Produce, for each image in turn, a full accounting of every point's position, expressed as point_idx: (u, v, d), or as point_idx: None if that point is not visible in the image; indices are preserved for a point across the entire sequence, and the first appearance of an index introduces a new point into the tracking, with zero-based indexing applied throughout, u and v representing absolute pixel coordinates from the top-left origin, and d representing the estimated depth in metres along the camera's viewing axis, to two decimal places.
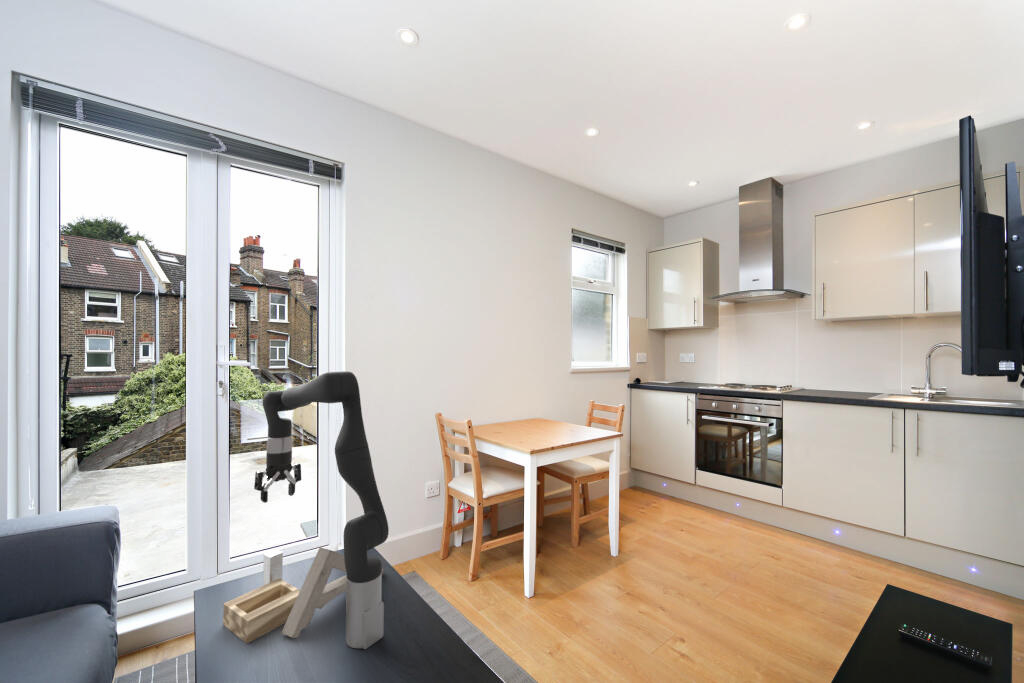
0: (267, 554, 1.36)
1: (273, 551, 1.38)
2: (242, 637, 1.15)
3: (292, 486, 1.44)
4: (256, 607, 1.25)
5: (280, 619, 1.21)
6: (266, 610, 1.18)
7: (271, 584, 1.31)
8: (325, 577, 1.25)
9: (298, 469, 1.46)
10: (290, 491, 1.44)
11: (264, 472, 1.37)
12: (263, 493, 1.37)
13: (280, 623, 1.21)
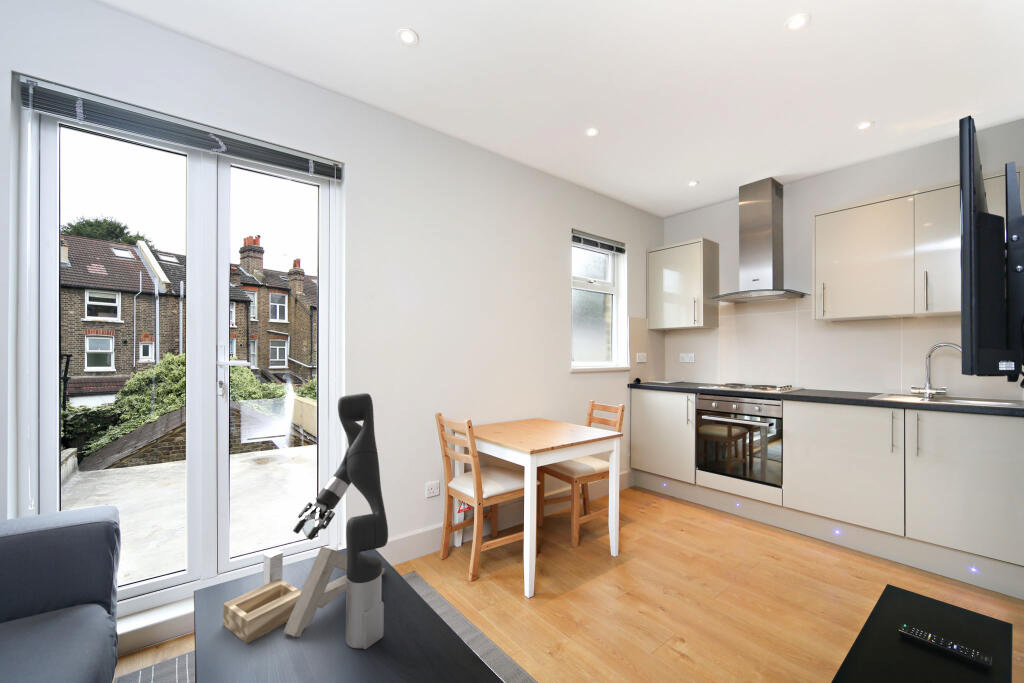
0: (267, 554, 1.36)
1: (273, 551, 1.38)
2: (242, 637, 1.15)
3: (313, 528, 1.44)
4: (256, 607, 1.25)
5: (280, 619, 1.21)
6: (266, 610, 1.18)
7: (271, 584, 1.31)
8: (327, 576, 1.25)
9: (326, 514, 1.46)
10: None
11: (312, 505, 1.53)
12: (298, 522, 1.49)
13: (280, 623, 1.21)
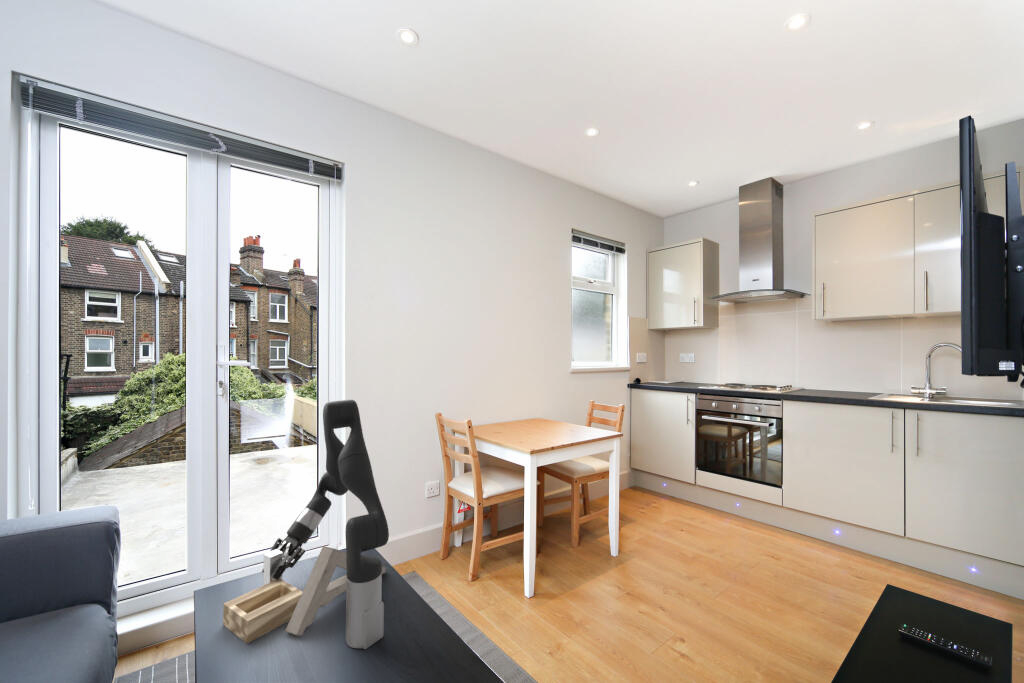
0: (267, 554, 1.36)
1: (273, 551, 1.38)
2: (242, 637, 1.15)
3: (279, 567, 1.35)
4: (256, 607, 1.25)
5: (280, 619, 1.21)
6: (266, 610, 1.18)
7: (271, 584, 1.31)
8: (329, 575, 1.26)
9: (295, 552, 1.36)
10: None
11: (282, 540, 1.44)
12: None
13: (280, 623, 1.21)
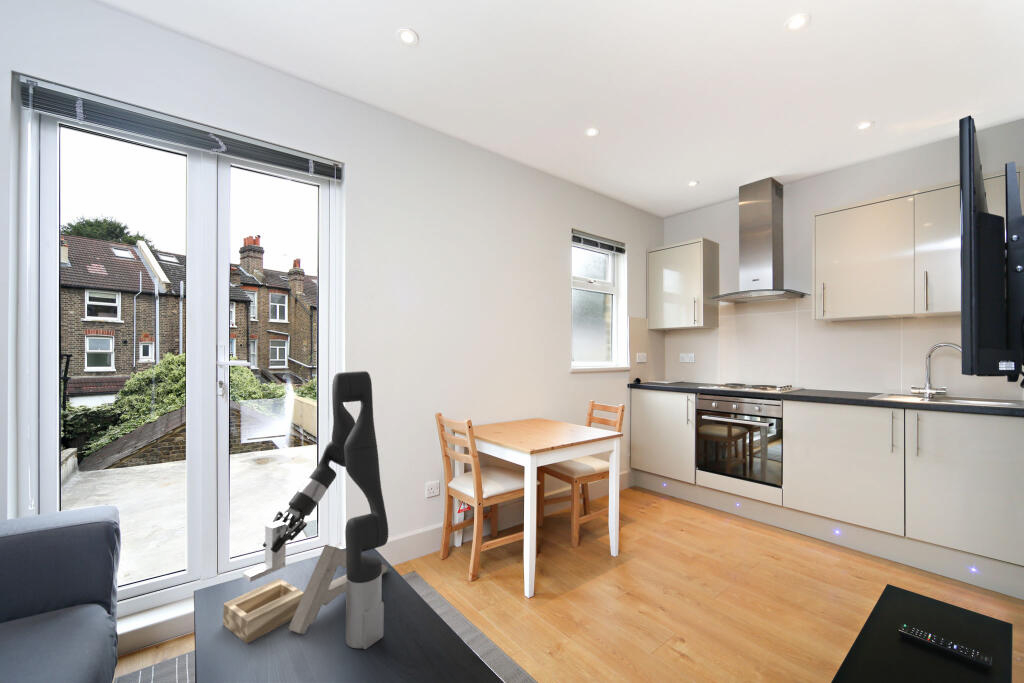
0: (269, 525, 1.26)
1: (275, 522, 1.28)
2: (242, 637, 1.15)
3: (278, 539, 1.25)
4: (256, 607, 1.25)
5: (280, 619, 1.21)
6: (266, 610, 1.18)
7: (271, 584, 1.31)
8: (331, 574, 1.26)
9: (296, 524, 1.27)
10: None
11: (283, 513, 1.34)
12: None
13: (280, 623, 1.21)
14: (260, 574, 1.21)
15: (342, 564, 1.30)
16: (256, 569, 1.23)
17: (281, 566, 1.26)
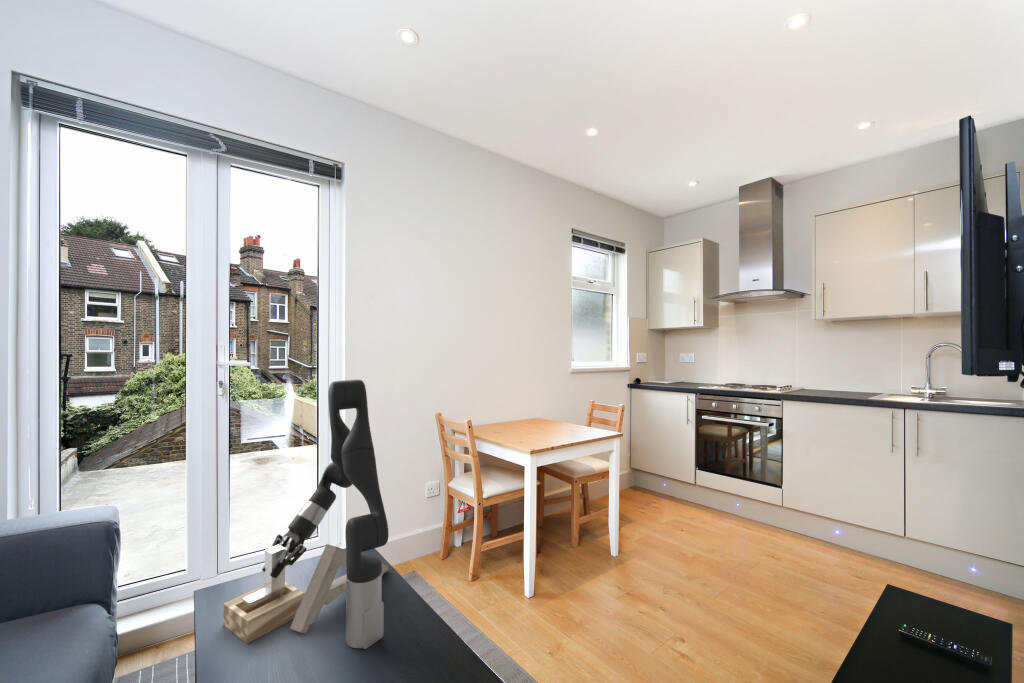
0: (269, 550, 1.26)
1: (275, 547, 1.28)
2: (242, 637, 1.15)
3: (277, 564, 1.25)
4: (256, 607, 1.25)
5: (280, 619, 1.21)
6: (266, 610, 1.18)
7: None
8: (332, 573, 1.27)
9: (296, 549, 1.26)
10: None
11: (283, 536, 1.33)
12: None
13: (280, 623, 1.21)
14: (259, 600, 1.21)
15: (343, 563, 1.31)
16: (255, 594, 1.23)
17: (280, 591, 1.26)
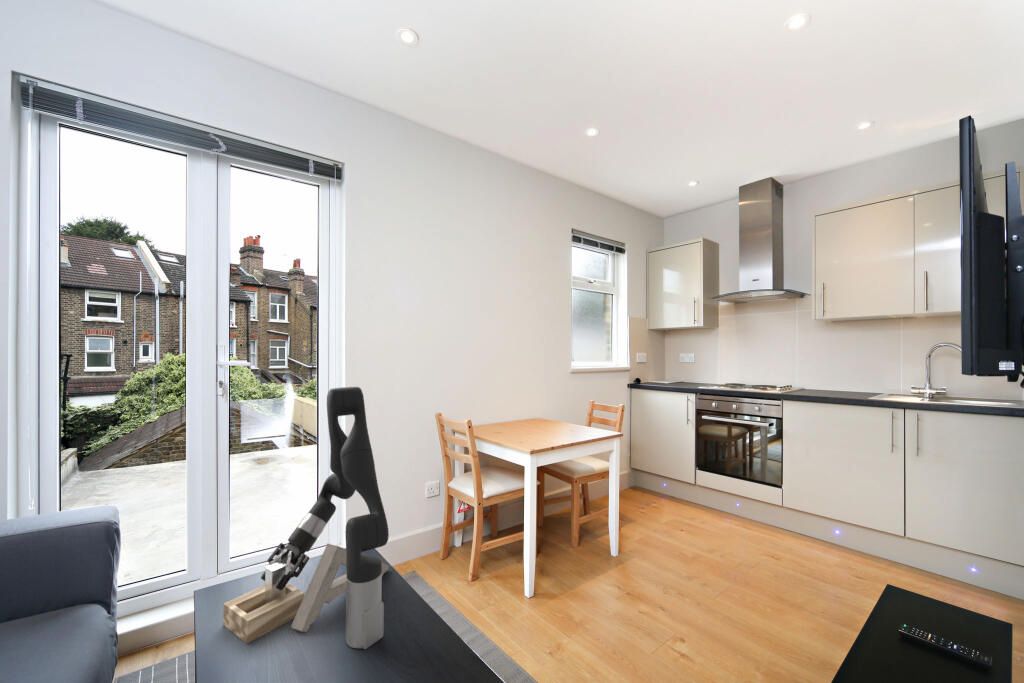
0: (269, 567, 1.26)
1: (276, 564, 1.28)
2: (242, 637, 1.15)
3: (283, 576, 1.24)
4: (256, 607, 1.25)
5: (280, 619, 1.21)
6: (266, 610, 1.18)
7: None
8: (333, 572, 1.27)
9: (299, 559, 1.27)
10: None
11: (284, 547, 1.34)
12: None
13: (280, 623, 1.21)
14: None
15: (344, 563, 1.31)
16: None
17: None
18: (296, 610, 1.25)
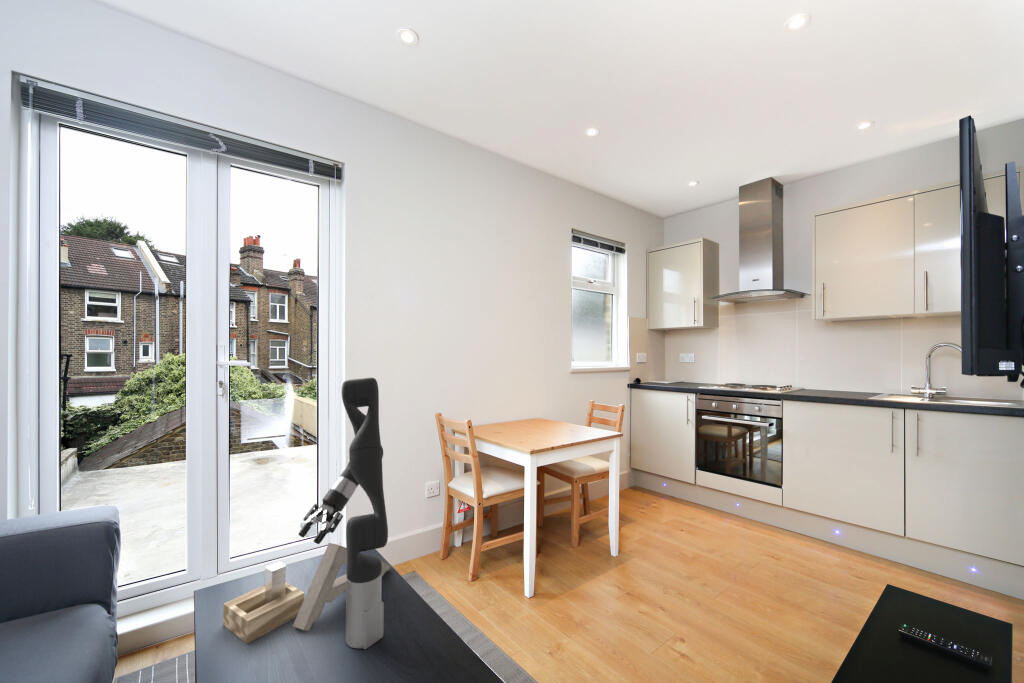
0: (269, 567, 1.26)
1: (276, 564, 1.28)
2: (242, 637, 1.15)
3: (320, 531, 1.34)
4: (256, 607, 1.25)
5: (280, 619, 1.21)
6: (266, 610, 1.18)
7: None
8: (335, 572, 1.28)
9: (334, 516, 1.37)
10: None
11: (318, 507, 1.44)
12: None
13: (280, 623, 1.21)
14: None
15: (346, 562, 1.32)
16: None
17: None
18: (296, 610, 1.25)
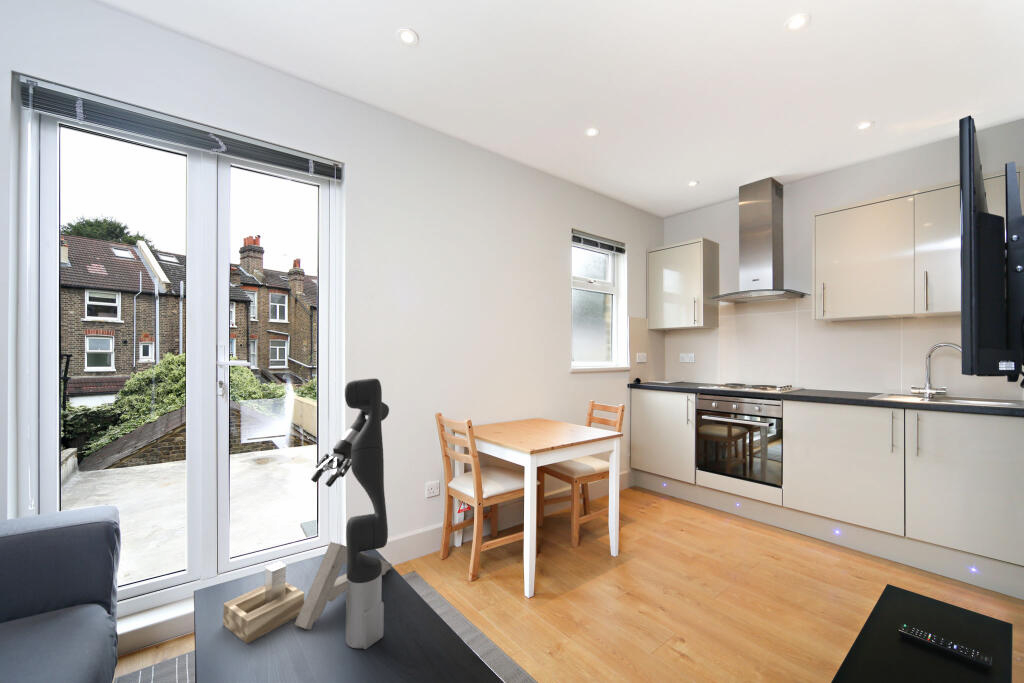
0: (269, 567, 1.26)
1: (276, 564, 1.28)
2: (242, 637, 1.15)
3: (331, 475, 1.45)
4: (256, 607, 1.25)
5: (280, 619, 1.21)
6: (266, 610, 1.18)
7: None
8: (336, 571, 1.28)
9: (344, 462, 1.48)
10: None
11: (329, 456, 1.55)
12: (316, 472, 1.51)
13: (280, 623, 1.21)
14: None
15: None
16: None
17: None
18: (296, 610, 1.25)
